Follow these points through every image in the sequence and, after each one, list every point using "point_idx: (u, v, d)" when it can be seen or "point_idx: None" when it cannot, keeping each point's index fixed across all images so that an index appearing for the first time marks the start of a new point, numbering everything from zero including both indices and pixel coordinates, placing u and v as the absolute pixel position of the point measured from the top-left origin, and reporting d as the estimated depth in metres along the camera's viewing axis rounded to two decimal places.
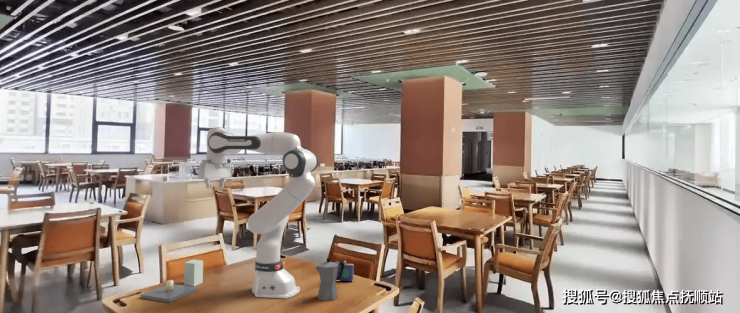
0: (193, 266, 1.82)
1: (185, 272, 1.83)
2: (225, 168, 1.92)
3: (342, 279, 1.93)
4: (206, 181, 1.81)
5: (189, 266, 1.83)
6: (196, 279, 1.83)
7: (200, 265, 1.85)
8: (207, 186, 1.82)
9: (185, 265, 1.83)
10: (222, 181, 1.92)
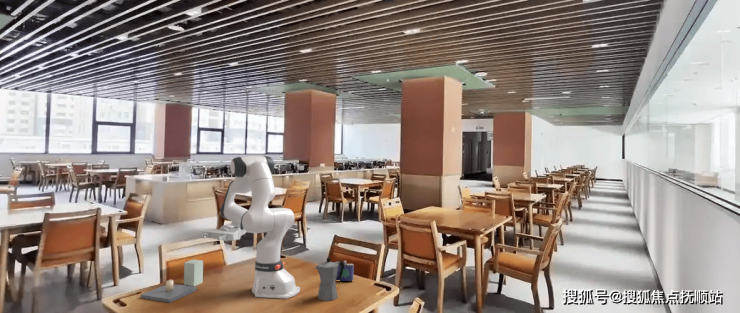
0: (193, 266, 1.82)
1: (185, 272, 1.83)
2: None
3: (342, 279, 1.93)
4: None
5: (189, 266, 1.83)
6: (196, 279, 1.83)
7: (200, 265, 1.85)
8: None
9: (185, 265, 1.83)
10: None
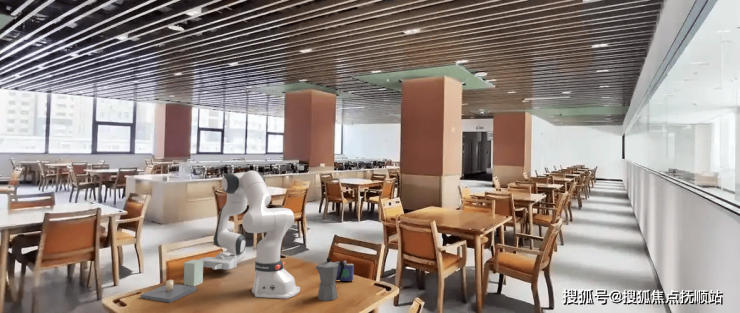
0: (193, 266, 1.82)
1: (185, 272, 1.83)
2: (227, 260, 2.01)
3: (342, 279, 1.93)
4: None
5: (189, 266, 1.83)
6: (196, 279, 1.83)
7: (200, 265, 1.85)
8: None
9: (185, 265, 1.83)
10: None
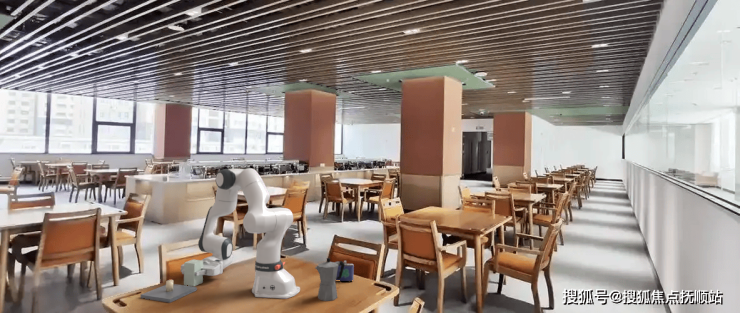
0: (193, 266, 1.82)
1: (185, 272, 1.83)
2: (212, 266, 1.90)
3: (342, 279, 1.93)
4: None
5: (189, 266, 1.83)
6: (196, 279, 1.83)
7: (200, 265, 1.85)
8: None
9: (185, 265, 1.83)
10: None
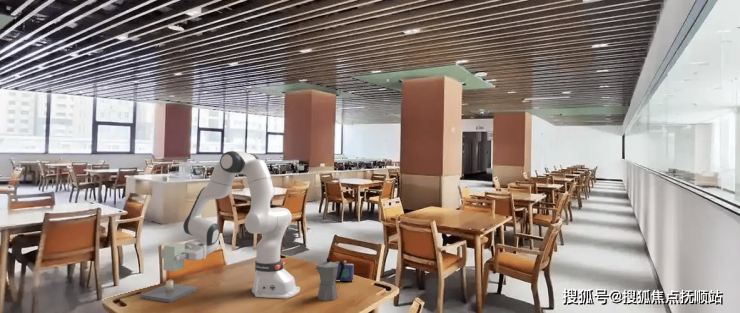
0: (173, 249, 1.70)
1: (165, 256, 1.71)
2: None
3: (342, 279, 1.93)
4: None
5: (168, 250, 1.70)
6: (176, 263, 1.71)
7: (181, 249, 1.73)
8: None
9: (165, 248, 1.71)
10: None
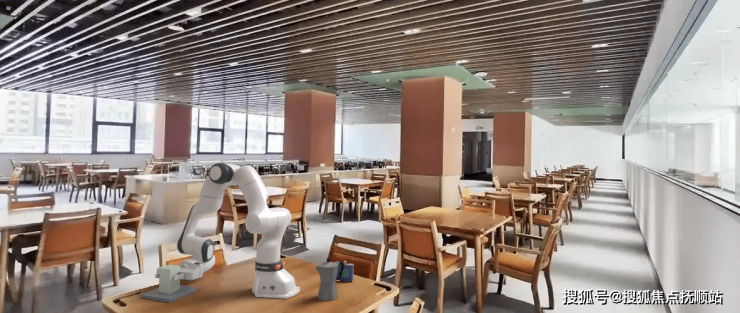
0: (169, 272, 1.67)
1: (160, 278, 1.69)
2: (191, 269, 1.76)
3: (342, 279, 1.93)
4: None
5: (164, 272, 1.68)
6: (172, 286, 1.69)
7: (176, 271, 1.71)
8: None
9: (160, 271, 1.69)
10: None
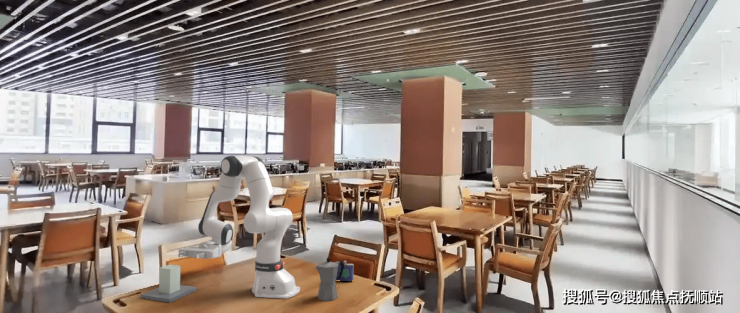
0: (169, 272, 1.67)
1: (160, 278, 1.69)
2: None
3: (342, 279, 1.93)
4: None
5: (164, 272, 1.68)
6: (172, 286, 1.69)
7: (176, 271, 1.71)
8: None
9: (160, 271, 1.69)
10: None
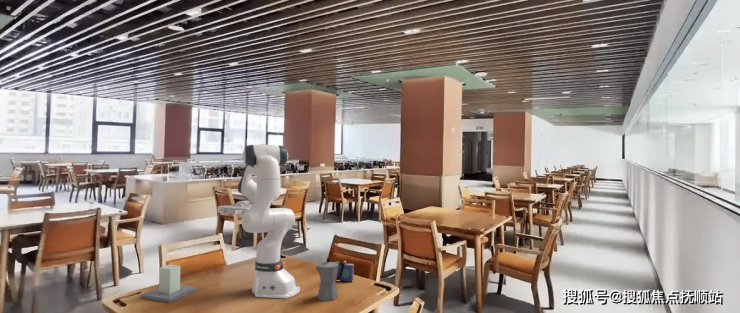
0: (169, 272, 1.67)
1: (160, 278, 1.69)
2: (246, 207, 2.06)
3: (342, 279, 1.93)
4: None
5: (164, 272, 1.68)
6: (172, 286, 1.69)
7: (176, 271, 1.71)
8: None
9: (160, 271, 1.69)
10: None
